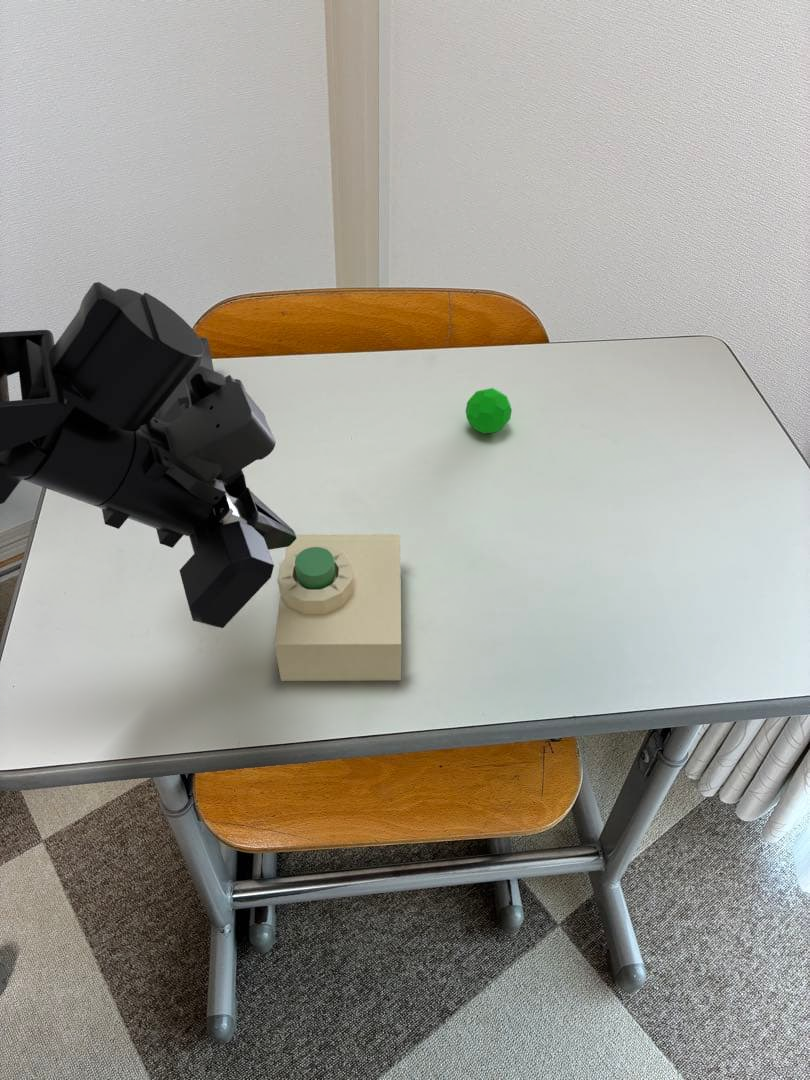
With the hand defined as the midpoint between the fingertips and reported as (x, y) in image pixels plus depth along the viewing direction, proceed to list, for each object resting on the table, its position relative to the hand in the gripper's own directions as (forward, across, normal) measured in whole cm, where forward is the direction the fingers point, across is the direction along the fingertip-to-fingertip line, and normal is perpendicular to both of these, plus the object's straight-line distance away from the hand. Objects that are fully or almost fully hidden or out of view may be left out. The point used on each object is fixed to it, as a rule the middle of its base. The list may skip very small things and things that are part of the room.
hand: (292, 538), depth 62 cm
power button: (+5, 0, +2) cm, 5 cm away
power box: (+11, -1, +6) cm, 12 cm away
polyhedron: (+28, +20, -11) cm, 36 cm away
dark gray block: (+3, +34, +13) cm, 36 cm away
